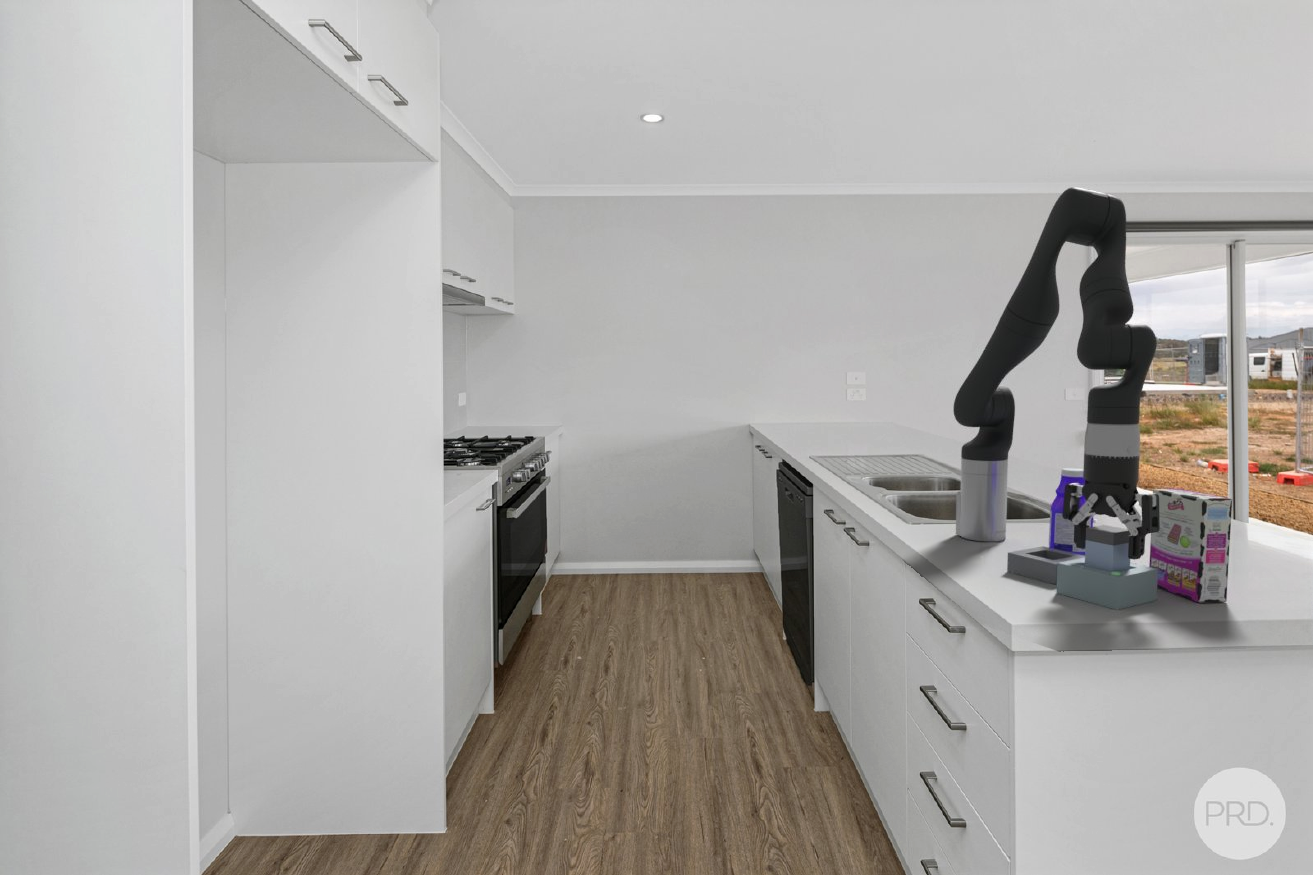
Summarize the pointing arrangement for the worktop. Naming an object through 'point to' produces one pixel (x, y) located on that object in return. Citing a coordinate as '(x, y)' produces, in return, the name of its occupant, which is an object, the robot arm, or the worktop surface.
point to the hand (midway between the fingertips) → (1107, 552)
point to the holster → (1038, 562)
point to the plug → (1107, 548)
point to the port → (1107, 584)
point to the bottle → (1060, 527)
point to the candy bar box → (1192, 545)
